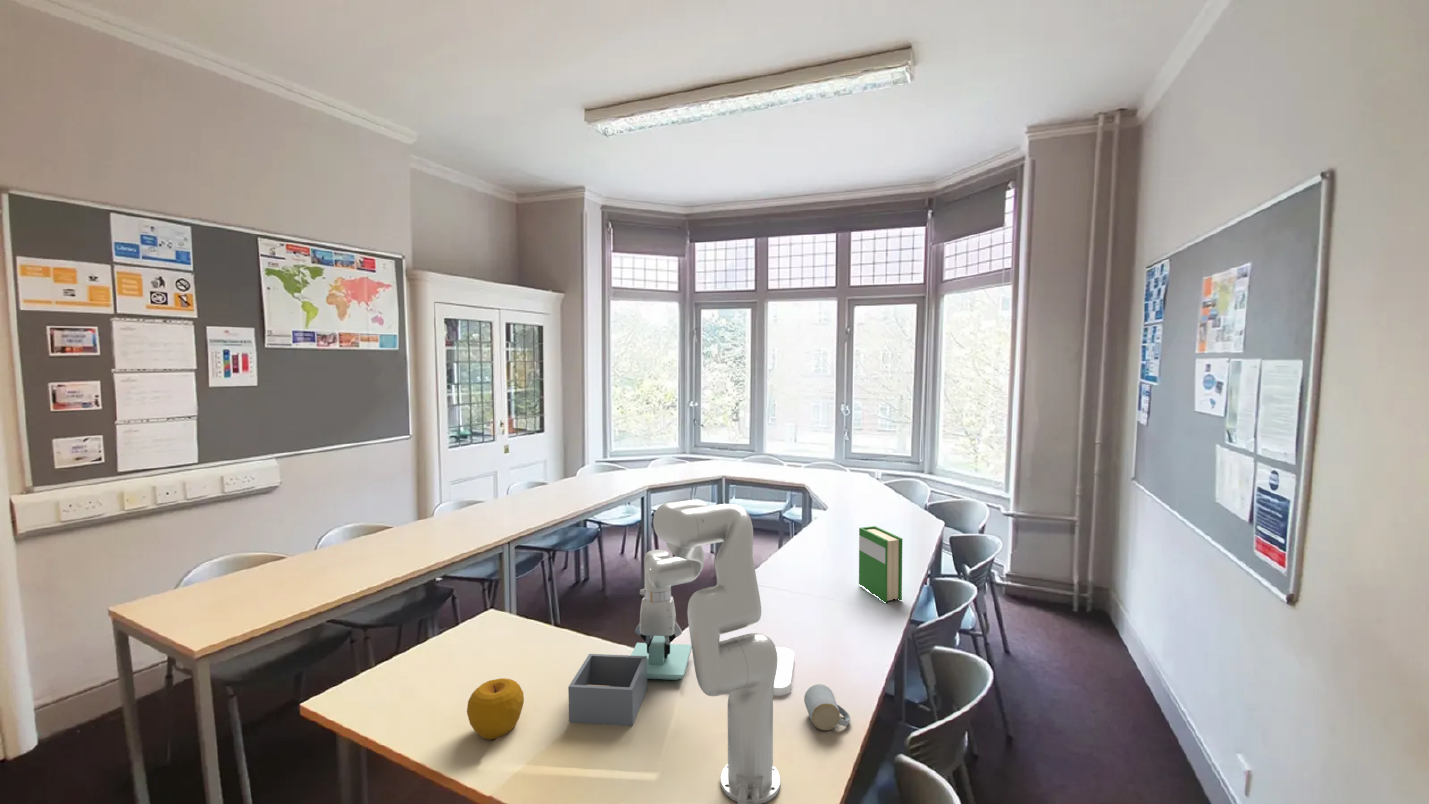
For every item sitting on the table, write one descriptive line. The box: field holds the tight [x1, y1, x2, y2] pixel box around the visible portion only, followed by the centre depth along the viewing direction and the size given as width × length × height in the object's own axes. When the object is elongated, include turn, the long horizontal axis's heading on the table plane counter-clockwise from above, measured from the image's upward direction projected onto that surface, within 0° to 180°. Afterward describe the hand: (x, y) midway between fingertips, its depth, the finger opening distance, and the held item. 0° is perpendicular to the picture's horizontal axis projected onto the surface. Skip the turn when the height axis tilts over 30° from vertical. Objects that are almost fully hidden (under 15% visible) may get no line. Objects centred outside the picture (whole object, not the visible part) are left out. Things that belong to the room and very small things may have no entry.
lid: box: [630, 636, 692, 681], centre depth 161 cm, size 17×17×8 cm
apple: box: [466, 677, 525, 741], centre depth 135 cm, size 13×13×11 cm
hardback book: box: [858, 525, 903, 603], centre depth 216 cm, size 18×7×24 cm, turn 18°
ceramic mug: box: [803, 683, 851, 731], centre depth 137 cm, size 11×8×8 cm
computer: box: [773, 646, 795, 697], centre depth 161 cm, size 22×22×3 cm
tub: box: [567, 653, 648, 727], centre depth 143 cm, size 16×16×10 cm
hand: (658, 655), depth 161 cm, fingers closed on lid, 3 cm apart
